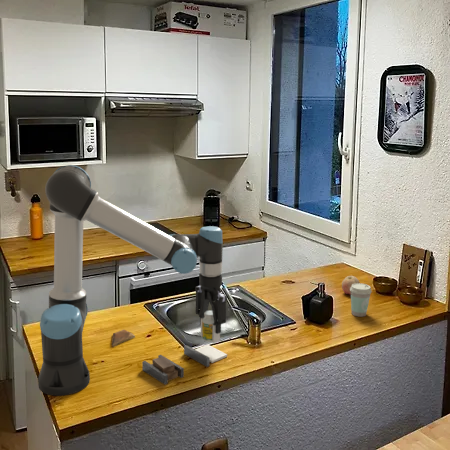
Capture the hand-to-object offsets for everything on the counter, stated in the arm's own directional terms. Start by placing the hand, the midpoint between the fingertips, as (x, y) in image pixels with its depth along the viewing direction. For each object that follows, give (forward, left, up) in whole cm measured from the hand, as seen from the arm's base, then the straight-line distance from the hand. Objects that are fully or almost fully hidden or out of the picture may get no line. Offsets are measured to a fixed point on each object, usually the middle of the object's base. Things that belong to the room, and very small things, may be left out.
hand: (210, 338), depth 186 cm
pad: (0, 0, -6) cm, 6 cm away
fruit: (+87, +3, -6) cm, 87 cm away
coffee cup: (+70, -13, -6) cm, 71 cm away
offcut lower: (-19, 0, -7) cm, 20 cm away
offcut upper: (-20, 0, -4) cm, 20 cm away
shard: (-16, +29, -7) cm, 34 cm away
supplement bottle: (0, 0, 0) cm, 0 cm away
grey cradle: (-15, 0, -6) cm, 16 cm away
